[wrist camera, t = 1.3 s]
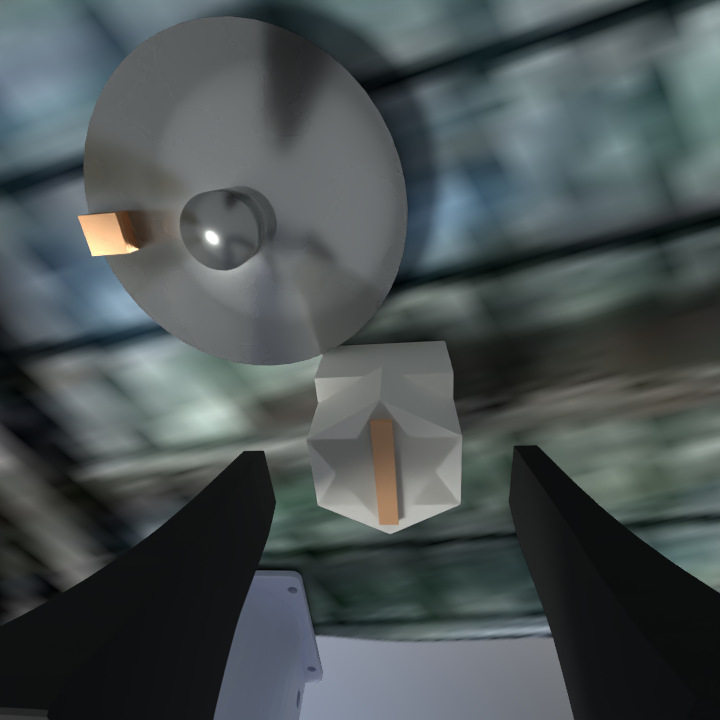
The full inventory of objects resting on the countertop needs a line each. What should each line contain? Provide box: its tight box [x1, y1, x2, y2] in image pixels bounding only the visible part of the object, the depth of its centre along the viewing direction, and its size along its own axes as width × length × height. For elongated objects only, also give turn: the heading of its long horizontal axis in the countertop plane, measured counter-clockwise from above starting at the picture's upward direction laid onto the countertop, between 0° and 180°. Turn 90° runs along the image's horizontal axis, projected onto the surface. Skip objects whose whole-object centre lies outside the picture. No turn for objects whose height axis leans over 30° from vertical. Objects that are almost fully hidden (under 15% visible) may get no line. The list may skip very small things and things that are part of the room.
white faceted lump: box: [307, 341, 462, 534], centre depth 14 cm, size 5×4×5 cm
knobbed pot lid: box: [78, 16, 408, 365], centre depth 12 cm, size 10×10×3 cm
